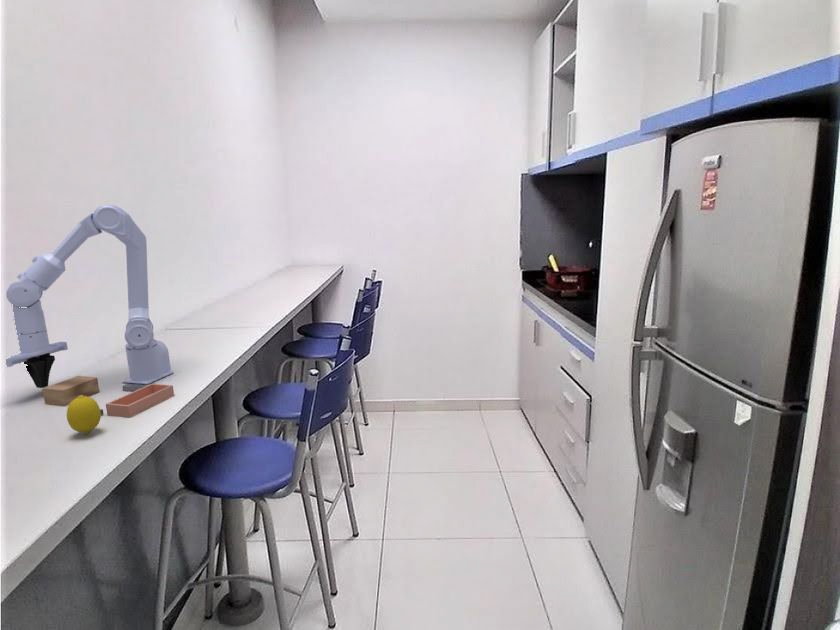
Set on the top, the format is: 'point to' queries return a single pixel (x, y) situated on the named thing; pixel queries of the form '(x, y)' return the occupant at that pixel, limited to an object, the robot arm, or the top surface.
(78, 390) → the block
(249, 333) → the top surface
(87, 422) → the lemon
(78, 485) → the top surface
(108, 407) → the tray
